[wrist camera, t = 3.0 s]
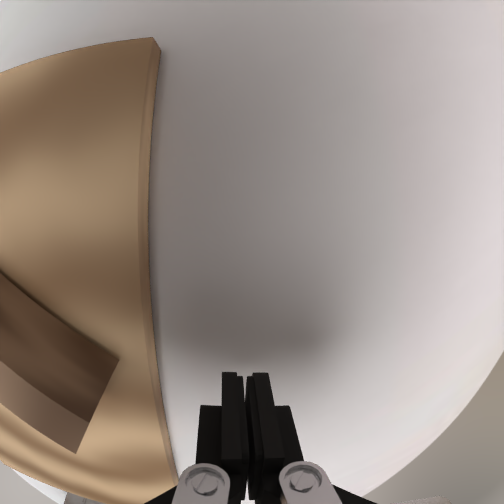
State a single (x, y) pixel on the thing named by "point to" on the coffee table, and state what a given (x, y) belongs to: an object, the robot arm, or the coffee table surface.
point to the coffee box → (78, 500)
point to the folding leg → (48, 369)
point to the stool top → (87, 255)
